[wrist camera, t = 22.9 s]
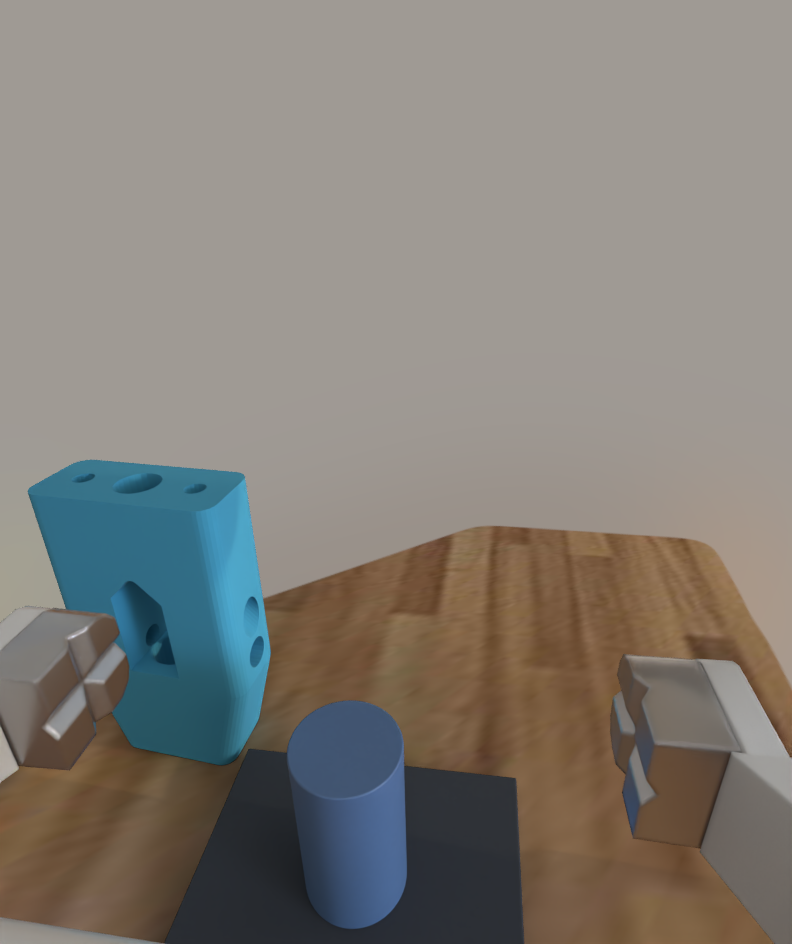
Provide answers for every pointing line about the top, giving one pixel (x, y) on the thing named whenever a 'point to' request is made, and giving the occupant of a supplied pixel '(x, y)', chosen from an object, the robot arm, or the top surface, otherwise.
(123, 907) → the top surface
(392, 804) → the cylinder block
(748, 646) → the top surface
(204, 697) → the block
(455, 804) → the mat
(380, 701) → the top surface
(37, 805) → the top surface
